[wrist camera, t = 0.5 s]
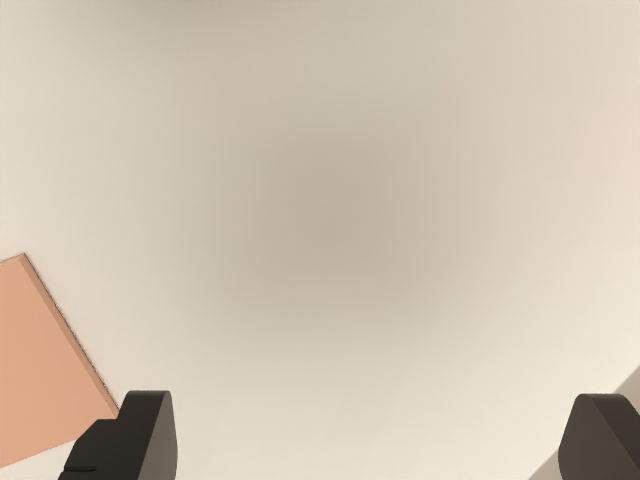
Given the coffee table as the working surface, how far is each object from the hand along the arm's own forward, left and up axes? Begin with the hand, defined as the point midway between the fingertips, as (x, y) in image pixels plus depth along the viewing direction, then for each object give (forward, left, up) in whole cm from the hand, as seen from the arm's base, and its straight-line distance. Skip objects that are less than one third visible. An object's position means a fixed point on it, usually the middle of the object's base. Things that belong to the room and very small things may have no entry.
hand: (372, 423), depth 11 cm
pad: (+4, -19, -20) cm, 28 cm away
